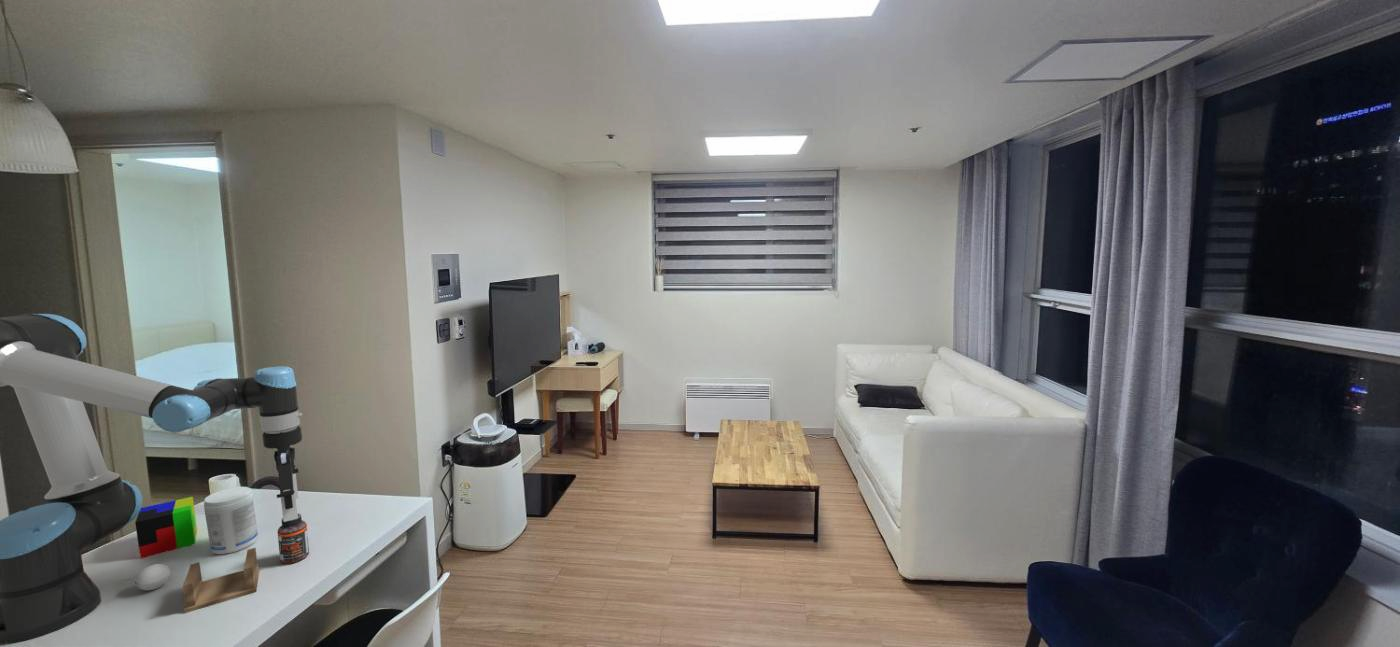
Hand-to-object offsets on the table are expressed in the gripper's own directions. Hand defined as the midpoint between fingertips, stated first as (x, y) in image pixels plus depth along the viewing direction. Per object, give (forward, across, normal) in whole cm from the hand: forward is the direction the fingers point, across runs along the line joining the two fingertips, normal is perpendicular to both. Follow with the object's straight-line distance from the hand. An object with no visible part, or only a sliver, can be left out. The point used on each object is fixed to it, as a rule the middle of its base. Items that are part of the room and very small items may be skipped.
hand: (291, 509), depth 131 cm
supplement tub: (+13, +17, +13) cm, 26 cm away
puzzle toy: (+13, +29, +27) cm, 42 cm away
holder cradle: (+13, -6, +13) cm, 20 cm away
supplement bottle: (+14, 0, 0) cm, 14 cm away
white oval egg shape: (+13, +5, +27) cm, 31 cm away
